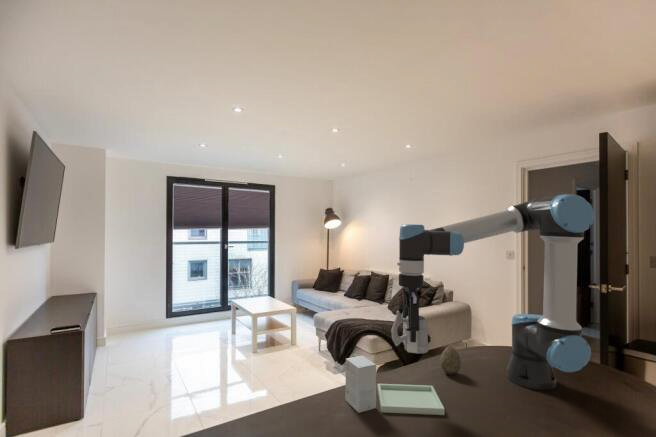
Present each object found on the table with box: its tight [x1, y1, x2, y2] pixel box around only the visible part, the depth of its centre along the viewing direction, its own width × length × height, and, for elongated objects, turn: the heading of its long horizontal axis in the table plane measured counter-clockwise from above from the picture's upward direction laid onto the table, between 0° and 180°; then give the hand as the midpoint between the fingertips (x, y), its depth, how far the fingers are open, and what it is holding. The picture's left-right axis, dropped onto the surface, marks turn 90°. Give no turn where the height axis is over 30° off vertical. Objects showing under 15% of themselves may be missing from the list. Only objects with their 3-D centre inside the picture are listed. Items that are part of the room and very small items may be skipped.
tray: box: [376, 383, 446, 416], centre depth 105 cm, size 18×14×2 cm
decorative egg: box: [440, 346, 462, 375], centre depth 125 cm, size 7×7×10 cm
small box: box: [344, 355, 377, 414], centre depth 103 cm, size 8×6×13 cm
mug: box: [390, 309, 430, 354], centre depth 106 cm, size 8×12×12 cm, turn 94°
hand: (409, 347), depth 106 cm, fingers closed on mug, 7 cm apart
